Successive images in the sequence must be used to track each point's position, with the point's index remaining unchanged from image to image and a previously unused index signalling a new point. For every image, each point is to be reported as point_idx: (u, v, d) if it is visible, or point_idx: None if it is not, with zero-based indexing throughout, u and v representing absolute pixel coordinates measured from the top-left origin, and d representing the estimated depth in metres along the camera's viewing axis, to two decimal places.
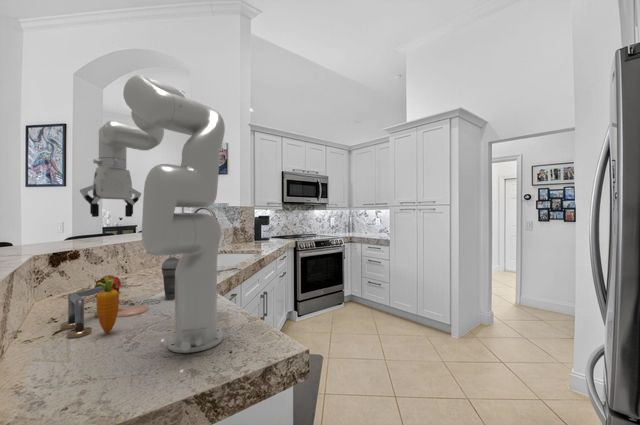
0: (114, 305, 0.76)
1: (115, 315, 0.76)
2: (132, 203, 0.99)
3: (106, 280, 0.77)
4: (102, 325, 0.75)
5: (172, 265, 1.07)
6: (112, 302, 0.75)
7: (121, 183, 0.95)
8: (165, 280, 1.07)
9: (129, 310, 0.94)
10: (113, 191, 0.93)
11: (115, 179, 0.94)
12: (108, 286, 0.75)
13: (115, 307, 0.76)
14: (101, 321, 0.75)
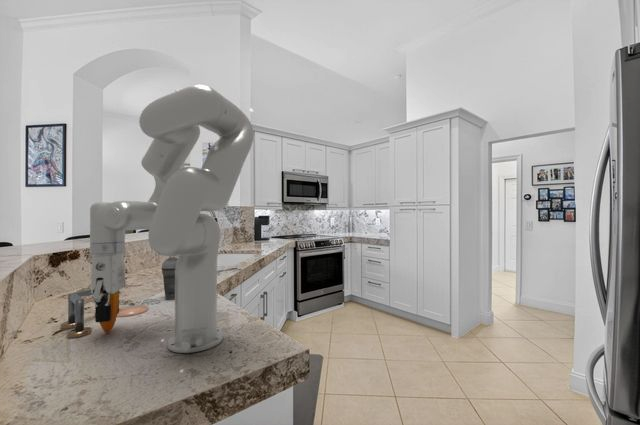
0: (114, 305, 0.76)
1: (115, 315, 0.76)
2: None
3: None
4: (102, 325, 0.75)
5: (172, 265, 1.07)
6: (112, 302, 0.75)
7: (122, 270, 0.79)
8: (165, 280, 1.07)
9: (129, 310, 0.94)
10: (118, 282, 0.76)
11: (119, 267, 0.77)
12: None
13: (115, 307, 0.76)
14: None
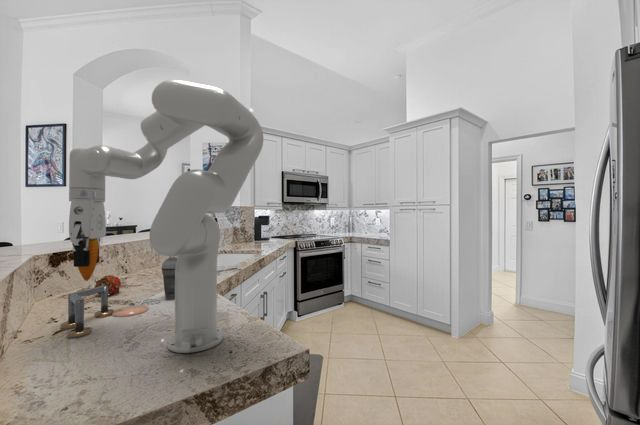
0: (93, 252, 0.76)
1: (94, 262, 0.77)
2: (98, 246, 0.80)
3: None
4: (81, 271, 0.75)
5: (172, 265, 1.07)
6: (90, 248, 0.75)
7: (102, 219, 0.79)
8: (165, 280, 1.07)
9: (129, 310, 0.94)
10: (98, 229, 0.77)
11: (99, 214, 0.77)
12: None
13: (94, 254, 0.76)
14: (80, 267, 0.75)
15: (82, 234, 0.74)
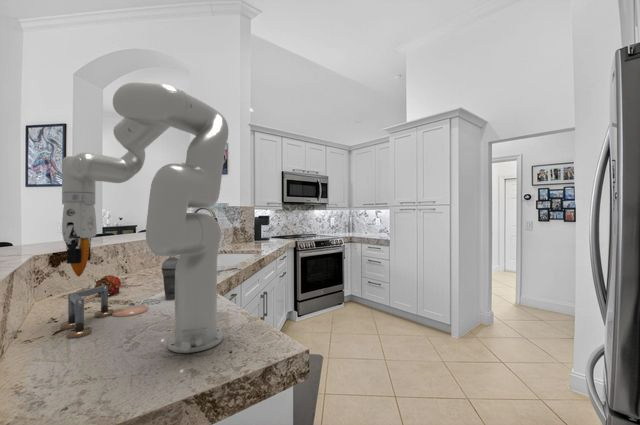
0: (85, 250, 0.83)
1: (86, 259, 0.84)
2: (89, 245, 0.88)
3: None
4: (73, 267, 0.82)
5: (172, 265, 1.07)
6: (82, 246, 0.83)
7: (92, 220, 0.86)
8: (165, 280, 1.07)
9: (129, 310, 0.94)
10: (89, 230, 0.84)
11: (90, 216, 0.85)
12: None
13: (85, 252, 0.84)
14: (72, 264, 0.82)
15: (74, 234, 0.81)
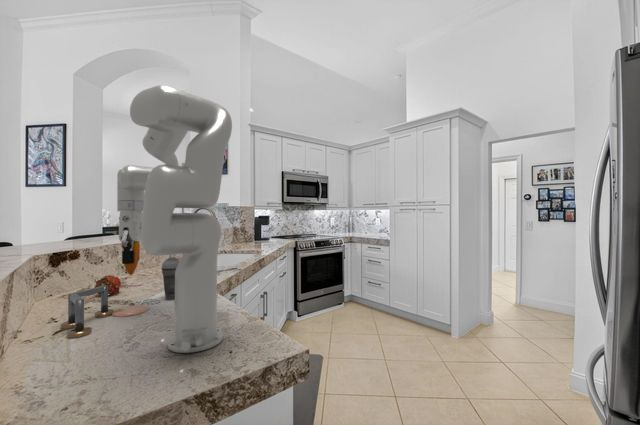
0: (136, 251, 0.94)
1: (137, 260, 0.95)
2: None
3: None
4: (127, 267, 0.93)
5: (172, 265, 1.07)
6: (134, 249, 0.93)
7: (142, 225, 0.97)
8: (165, 280, 1.07)
9: (129, 310, 0.94)
10: (140, 234, 0.95)
11: (140, 221, 0.95)
12: None
13: (137, 253, 0.94)
14: (126, 264, 0.93)
15: (128, 237, 0.92)
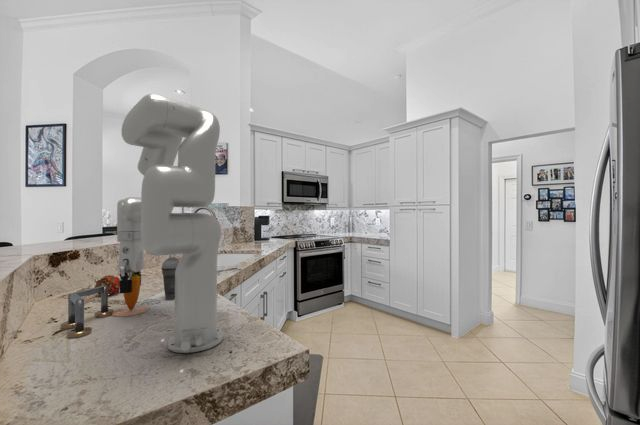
0: (137, 286, 0.94)
1: (137, 295, 0.94)
2: (140, 272, 1.00)
3: None
4: (127, 302, 0.93)
5: (172, 265, 1.07)
6: (135, 284, 0.93)
7: (142, 254, 0.97)
8: (165, 280, 1.07)
9: (129, 310, 0.94)
10: (139, 264, 0.95)
11: (140, 251, 0.95)
12: None
13: (137, 288, 0.94)
14: (126, 299, 0.93)
15: (128, 268, 0.92)
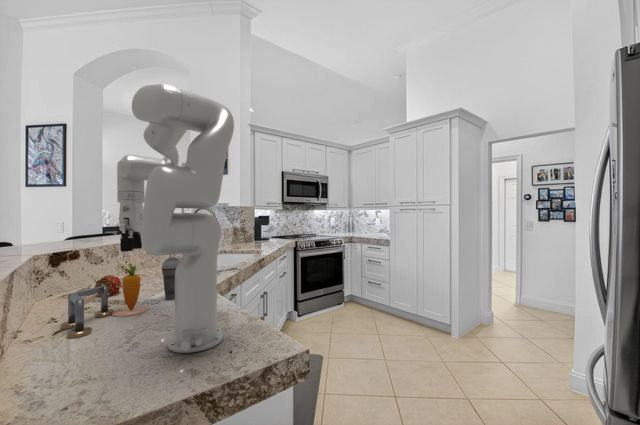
0: (137, 286, 0.94)
1: (137, 295, 0.94)
2: (140, 235, 1.00)
3: (130, 266, 0.95)
4: (127, 302, 0.93)
5: (172, 265, 1.07)
6: (135, 284, 0.93)
7: (142, 216, 0.97)
8: (165, 280, 1.07)
9: (129, 310, 0.94)
10: (140, 224, 0.95)
11: (140, 212, 0.95)
12: (132, 271, 0.94)
13: (137, 288, 0.94)
14: (126, 299, 0.93)
15: (129, 228, 0.92)
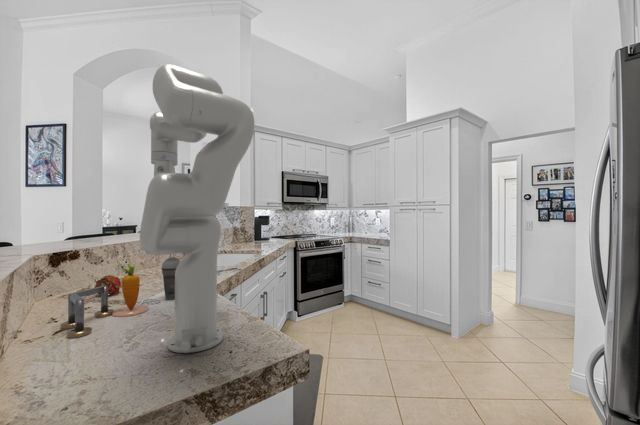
0: (136, 286, 0.94)
1: (137, 294, 0.94)
2: None
3: (129, 266, 0.95)
4: (127, 302, 0.93)
5: (172, 265, 1.07)
6: (134, 284, 0.93)
7: None
8: (165, 280, 1.07)
9: (129, 310, 0.94)
10: None
11: None
12: (131, 271, 0.93)
13: (137, 288, 0.94)
14: (126, 299, 0.93)
15: None
